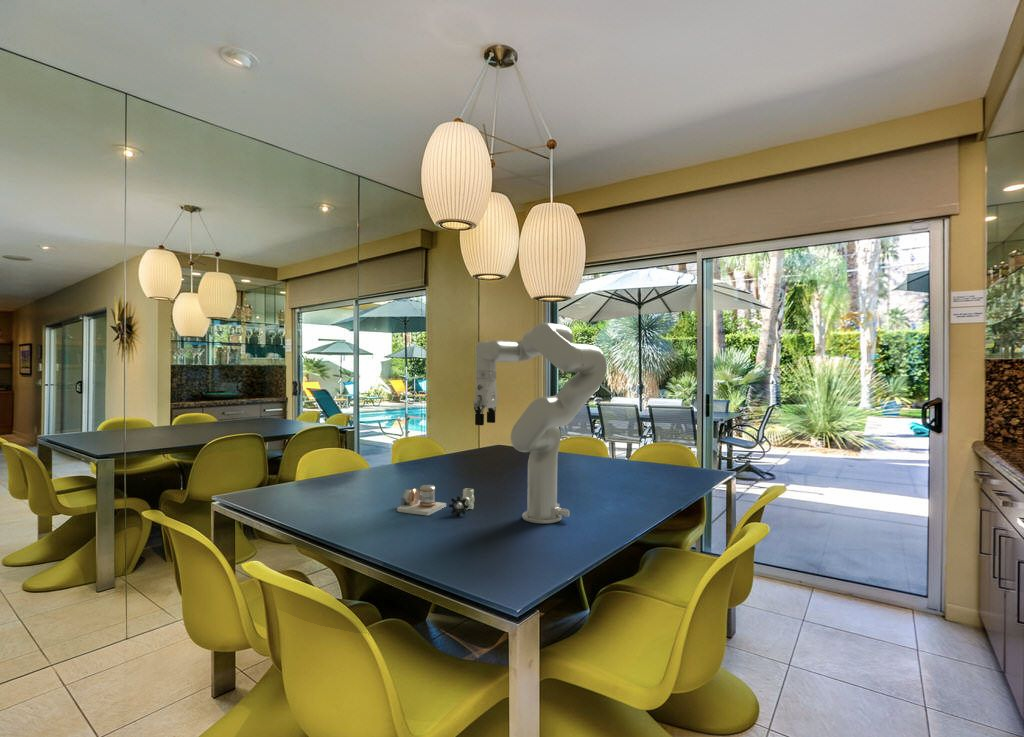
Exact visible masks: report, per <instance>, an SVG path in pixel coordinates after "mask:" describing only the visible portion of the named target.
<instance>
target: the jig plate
mask: <svg viewBox="0 0 1024 737" xmlns="http://www.w3.org/2000/svg"><path fill="white" fill-rule="evenodd" d="M444 507H445V508H446V507H447V503H446V502H439V501H435V506H433V507H421V506H420V499H419V502H418V503H417V504H415V505H413V506H410V504H407V505H405V506H401V505H400V506H398V507H396V512H397V511H398V512H399V513H407V514H413V515H420V516H421V515H422V516H427V517H428V516H430V515H433V514H434V513H436V512H438V511H440V510H442V508H443V509H445V508H444Z"/></svg>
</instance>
